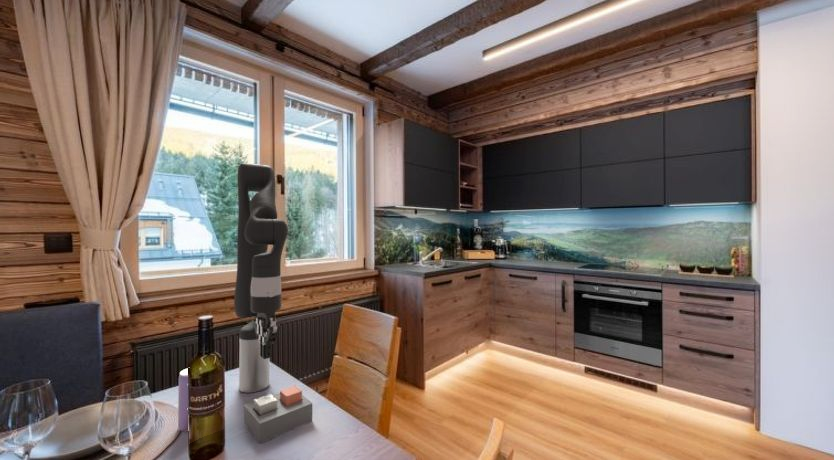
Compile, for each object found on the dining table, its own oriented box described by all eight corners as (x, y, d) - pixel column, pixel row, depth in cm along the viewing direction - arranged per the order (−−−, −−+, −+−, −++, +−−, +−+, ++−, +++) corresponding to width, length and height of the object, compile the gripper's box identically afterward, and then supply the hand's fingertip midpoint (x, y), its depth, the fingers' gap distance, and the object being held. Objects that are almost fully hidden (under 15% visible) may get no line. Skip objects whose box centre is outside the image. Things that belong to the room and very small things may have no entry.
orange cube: (279, 406, 93) (280, 390, 93) (295, 400, 96) (295, 385, 96) (286, 412, 90) (286, 396, 90) (301, 406, 93) (301, 390, 93)
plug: (253, 416, 88) (254, 399, 88) (270, 410, 91) (270, 393, 92) (259, 423, 85) (259, 405, 85) (276, 416, 88) (277, 399, 88)
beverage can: (191, 434, 85) (191, 376, 85) (172, 431, 87) (172, 374, 87) (210, 421, 91) (210, 367, 91) (192, 418, 92) (192, 365, 92)
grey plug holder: (243, 423, 90) (244, 405, 90) (293, 404, 100) (293, 388, 100) (259, 443, 82) (259, 423, 82) (312, 421, 91) (312, 403, 91)
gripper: (243, 291, 91) (242, 353, 91) (260, 298, 81) (260, 368, 81) (270, 287, 96) (270, 347, 96) (290, 294, 86) (290, 360, 86)
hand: (265, 356), depth 88 cm, fingers closed
